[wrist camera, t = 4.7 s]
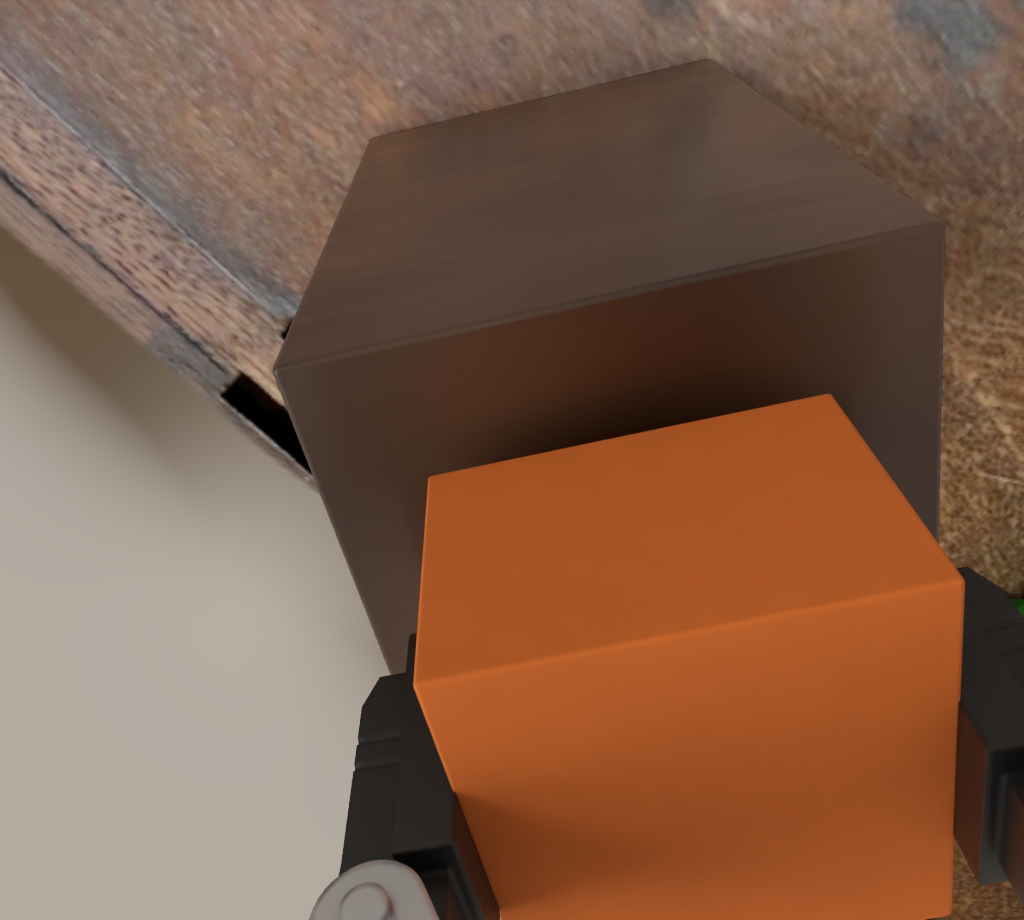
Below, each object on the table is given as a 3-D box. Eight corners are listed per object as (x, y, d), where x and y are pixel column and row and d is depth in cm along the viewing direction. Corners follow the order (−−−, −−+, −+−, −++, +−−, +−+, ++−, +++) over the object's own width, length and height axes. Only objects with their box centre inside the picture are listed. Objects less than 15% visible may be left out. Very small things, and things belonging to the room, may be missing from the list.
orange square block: (513, 747, 16) (525, 987, 12) (427, 474, 13) (411, 685, 9) (844, 686, 15) (954, 917, 12) (830, 390, 12) (968, 579, 9)
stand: (453, 430, 29) (438, 803, 17) (368, 137, 25) (269, 369, 13) (742, 370, 28) (936, 715, 16) (710, 57, 24) (948, 221, 12)
